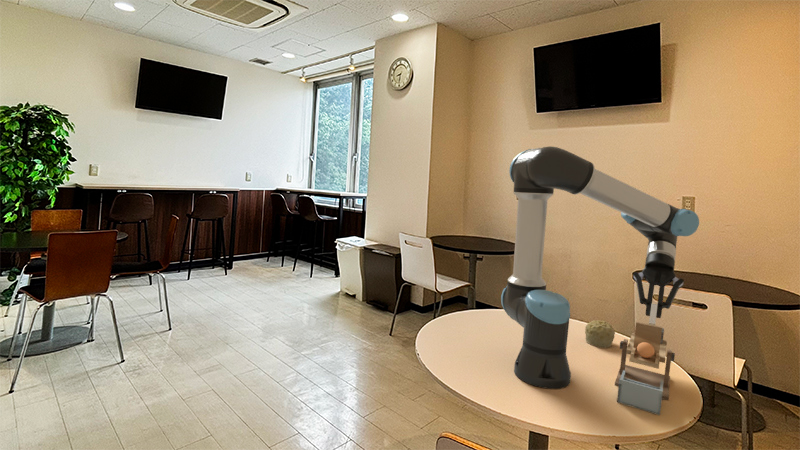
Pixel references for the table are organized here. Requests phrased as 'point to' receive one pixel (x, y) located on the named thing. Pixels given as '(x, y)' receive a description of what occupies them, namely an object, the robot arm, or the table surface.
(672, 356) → the catapult stand
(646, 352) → the ball
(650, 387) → the blue open box
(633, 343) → the lever
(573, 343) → the table surface
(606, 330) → the decorative item
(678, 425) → the table surface
